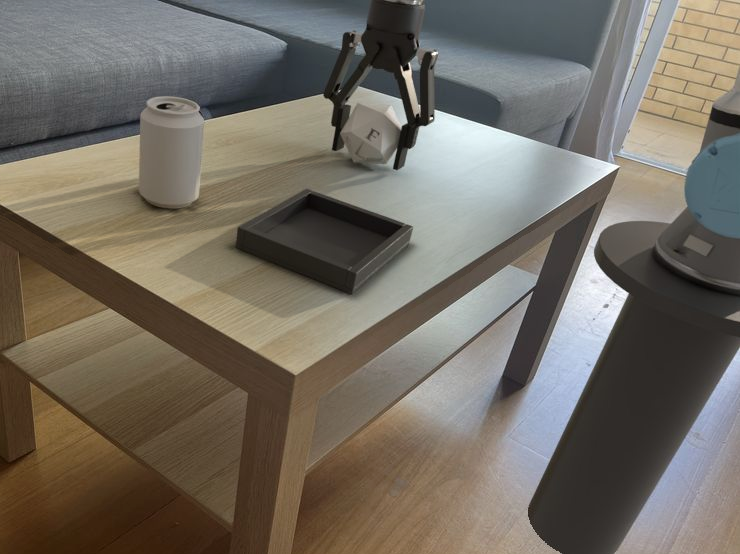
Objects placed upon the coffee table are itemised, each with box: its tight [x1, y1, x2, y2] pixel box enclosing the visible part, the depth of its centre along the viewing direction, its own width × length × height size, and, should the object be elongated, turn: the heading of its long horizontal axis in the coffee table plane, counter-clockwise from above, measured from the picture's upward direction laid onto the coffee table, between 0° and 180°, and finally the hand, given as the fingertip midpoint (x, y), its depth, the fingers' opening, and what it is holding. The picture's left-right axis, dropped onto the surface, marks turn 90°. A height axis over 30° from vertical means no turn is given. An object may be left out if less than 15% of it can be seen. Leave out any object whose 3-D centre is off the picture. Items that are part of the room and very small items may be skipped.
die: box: [340, 102, 403, 165], centre depth 108 cm, size 8×9×10 cm
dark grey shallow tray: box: [235, 188, 414, 295], centre depth 85 cm, size 15×16×3 cm
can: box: [138, 95, 205, 210], centre depth 88 cm, size 8×8×12 cm
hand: (367, 158), depth 110 cm, fingers closed on die, 10 cm apart
